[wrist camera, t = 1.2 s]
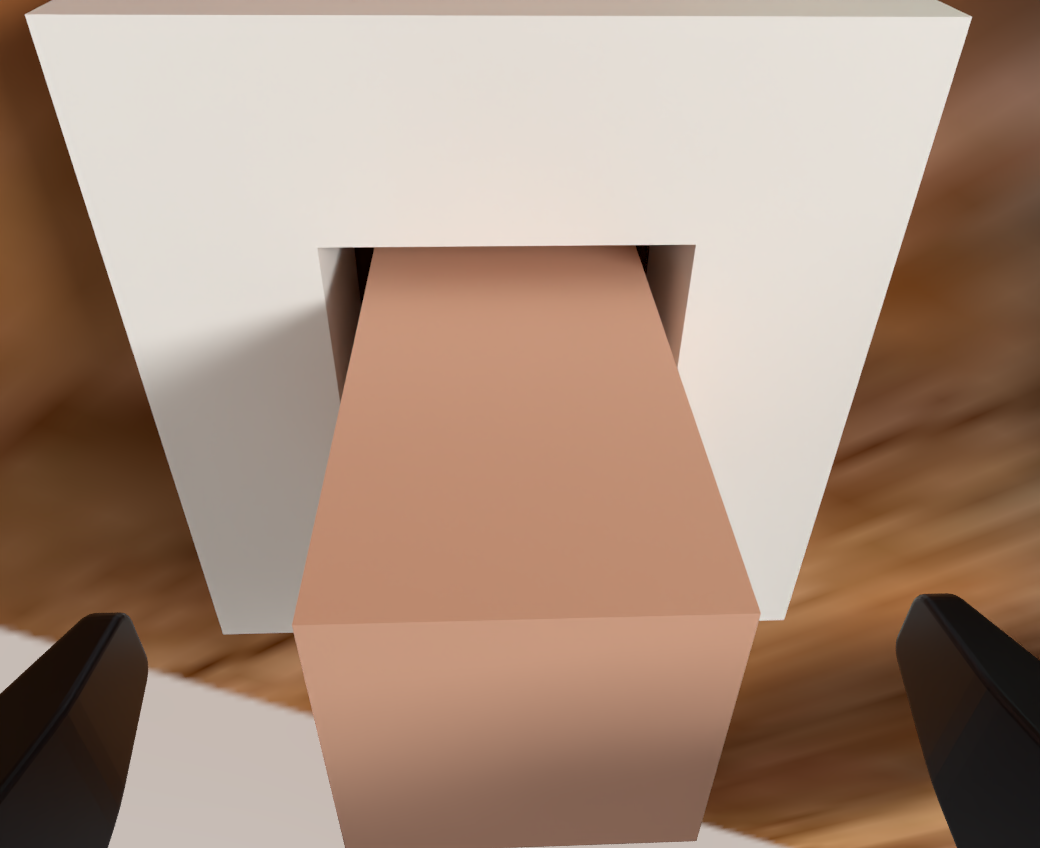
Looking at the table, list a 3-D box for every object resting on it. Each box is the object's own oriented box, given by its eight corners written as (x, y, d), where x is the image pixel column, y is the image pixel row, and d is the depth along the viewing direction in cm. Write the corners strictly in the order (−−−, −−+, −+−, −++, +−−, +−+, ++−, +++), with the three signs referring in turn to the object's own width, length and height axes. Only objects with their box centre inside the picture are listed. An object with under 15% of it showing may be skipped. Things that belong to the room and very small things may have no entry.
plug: (619, 199, 14) (761, 613, 7) (603, 390, 17) (696, 840, 10) (384, 200, 14) (291, 625, 7) (402, 393, 17) (347, 853, 9)
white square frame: (876, -29, 12) (972, 17, 10) (745, 514, 19) (784, 619, 17) (115, -33, 12) (25, 14, 10) (255, 525, 19) (223, 634, 16)
